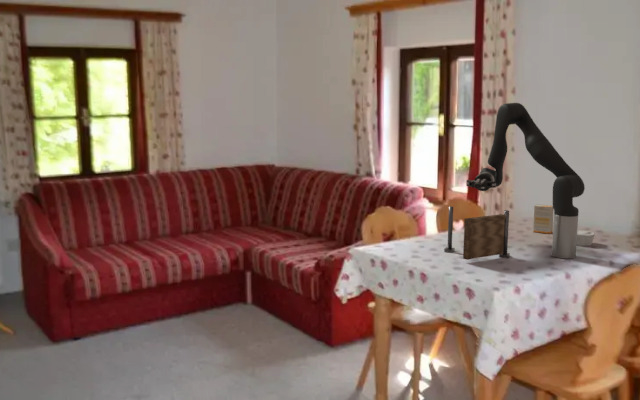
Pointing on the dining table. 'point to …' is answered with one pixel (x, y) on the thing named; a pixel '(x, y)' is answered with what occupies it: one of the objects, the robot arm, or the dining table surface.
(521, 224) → the dining table surface
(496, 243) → the gate
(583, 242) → the ramekin
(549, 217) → the supplement box
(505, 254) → the gate frame
